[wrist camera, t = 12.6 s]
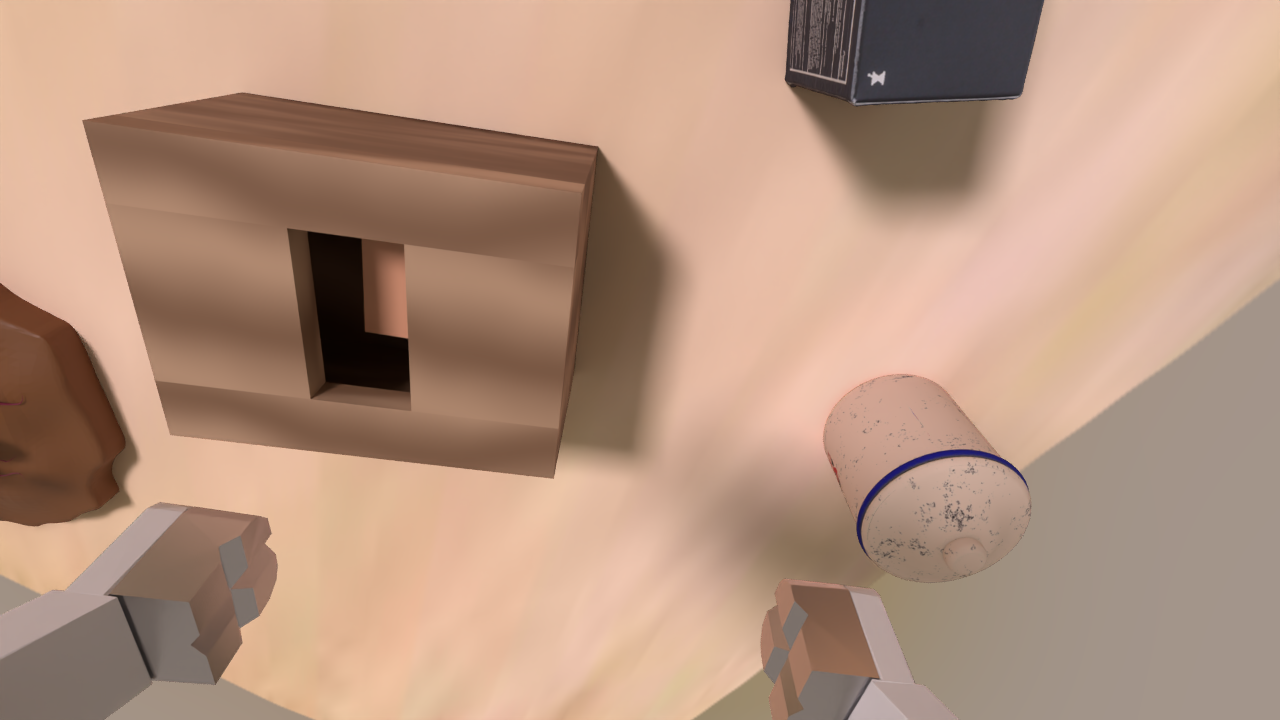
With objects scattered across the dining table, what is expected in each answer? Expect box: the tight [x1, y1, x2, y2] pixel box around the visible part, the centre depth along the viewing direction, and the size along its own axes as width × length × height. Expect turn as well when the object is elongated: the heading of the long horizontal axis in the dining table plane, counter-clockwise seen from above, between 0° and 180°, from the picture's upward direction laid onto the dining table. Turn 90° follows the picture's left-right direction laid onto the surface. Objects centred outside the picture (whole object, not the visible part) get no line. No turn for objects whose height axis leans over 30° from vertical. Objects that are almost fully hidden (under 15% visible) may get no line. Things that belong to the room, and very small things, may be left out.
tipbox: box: [82, 93, 598, 479], centre depth 30 cm, size 14×18×10 cm
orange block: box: [362, 239, 408, 338], centre depth 32 cm, size 5×2×5 cm, turn 169°
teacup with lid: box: [823, 374, 1031, 583], centre depth 36 cm, size 12×9×12 cm
